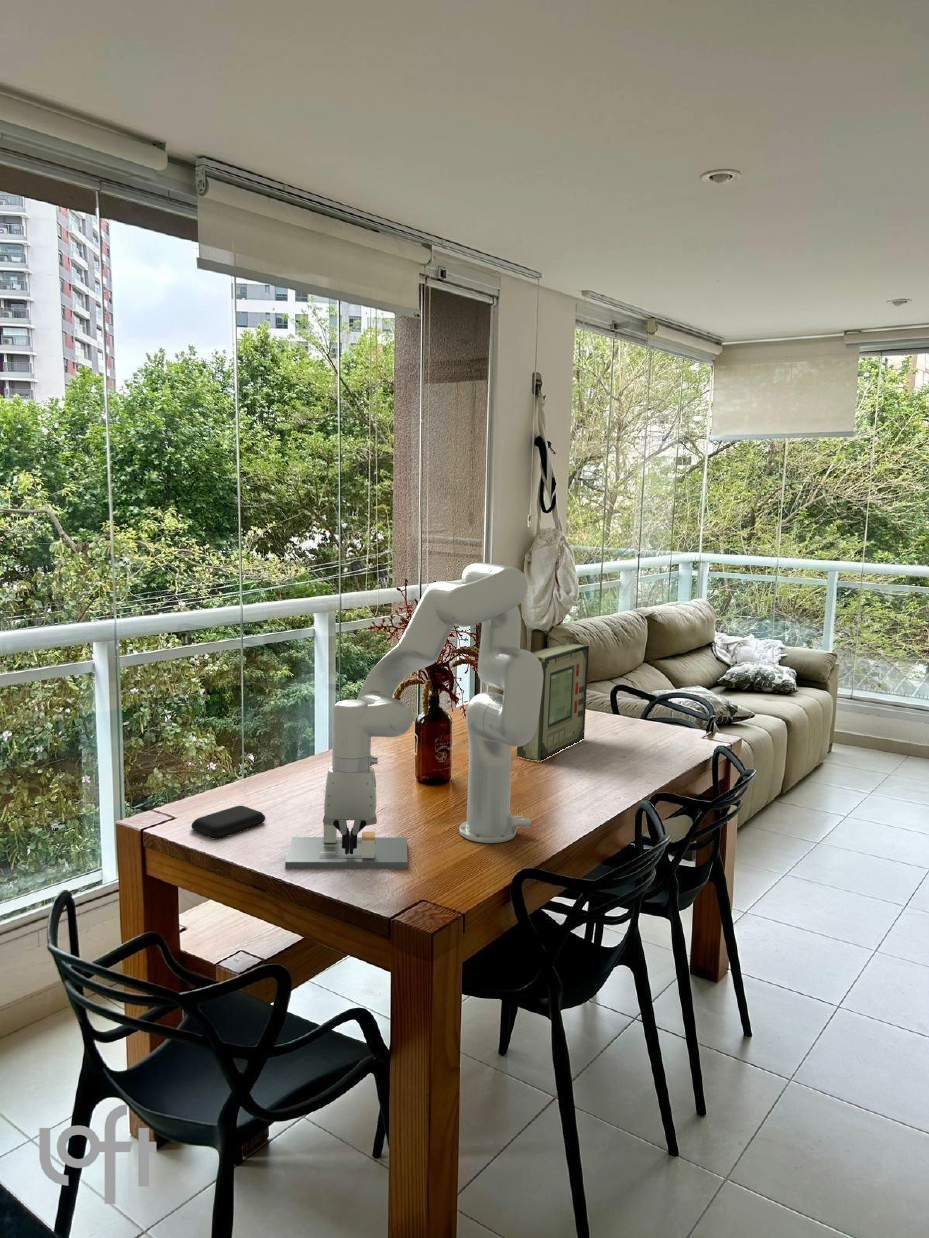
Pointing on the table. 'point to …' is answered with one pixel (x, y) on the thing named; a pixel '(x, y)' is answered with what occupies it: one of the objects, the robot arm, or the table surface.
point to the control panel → (559, 701)
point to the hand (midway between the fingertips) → (349, 851)
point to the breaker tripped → (368, 844)
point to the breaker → (330, 833)
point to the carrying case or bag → (228, 822)
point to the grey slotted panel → (333, 856)
